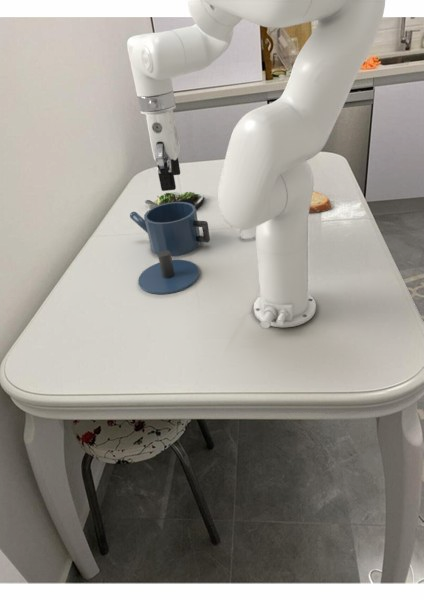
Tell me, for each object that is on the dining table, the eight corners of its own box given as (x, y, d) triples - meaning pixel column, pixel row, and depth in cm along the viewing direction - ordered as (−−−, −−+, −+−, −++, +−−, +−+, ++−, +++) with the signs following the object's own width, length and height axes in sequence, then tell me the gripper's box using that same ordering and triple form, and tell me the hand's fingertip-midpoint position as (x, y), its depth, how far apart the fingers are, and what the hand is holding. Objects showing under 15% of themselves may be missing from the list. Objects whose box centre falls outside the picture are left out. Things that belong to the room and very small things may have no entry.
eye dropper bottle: (260, 240, 116) (257, 198, 109) (239, 241, 118) (235, 198, 111) (262, 233, 120) (259, 191, 113) (242, 233, 121) (238, 192, 114)
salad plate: (132, 216, 141) (129, 202, 139) (161, 194, 154) (158, 182, 151) (184, 221, 133) (181, 206, 130) (210, 198, 146) (208, 184, 143)
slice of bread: (333, 210, 125) (334, 198, 123) (270, 217, 127) (270, 205, 125) (321, 188, 140) (321, 177, 138) (265, 194, 142) (264, 183, 140)
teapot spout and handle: (208, 244, 114) (204, 217, 110) (133, 238, 123) (127, 213, 119) (211, 240, 116) (208, 213, 111) (137, 234, 124) (131, 210, 120)
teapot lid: (183, 300, 98) (178, 272, 94) (128, 292, 103) (120, 266, 99) (209, 266, 109) (205, 240, 104) (157, 261, 114) (151, 236, 110)
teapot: (188, 260, 112) (182, 225, 107) (142, 256, 118) (134, 222, 112) (208, 236, 122) (203, 202, 117) (165, 233, 128) (159, 201, 122)
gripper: (169, 109, 84) (184, 194, 93) (179, 92, 98) (190, 168, 107) (131, 114, 84) (149, 198, 94) (146, 97, 99) (160, 171, 108)
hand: (171, 182), depth 101 cm, fingers open, 9 cm apart
